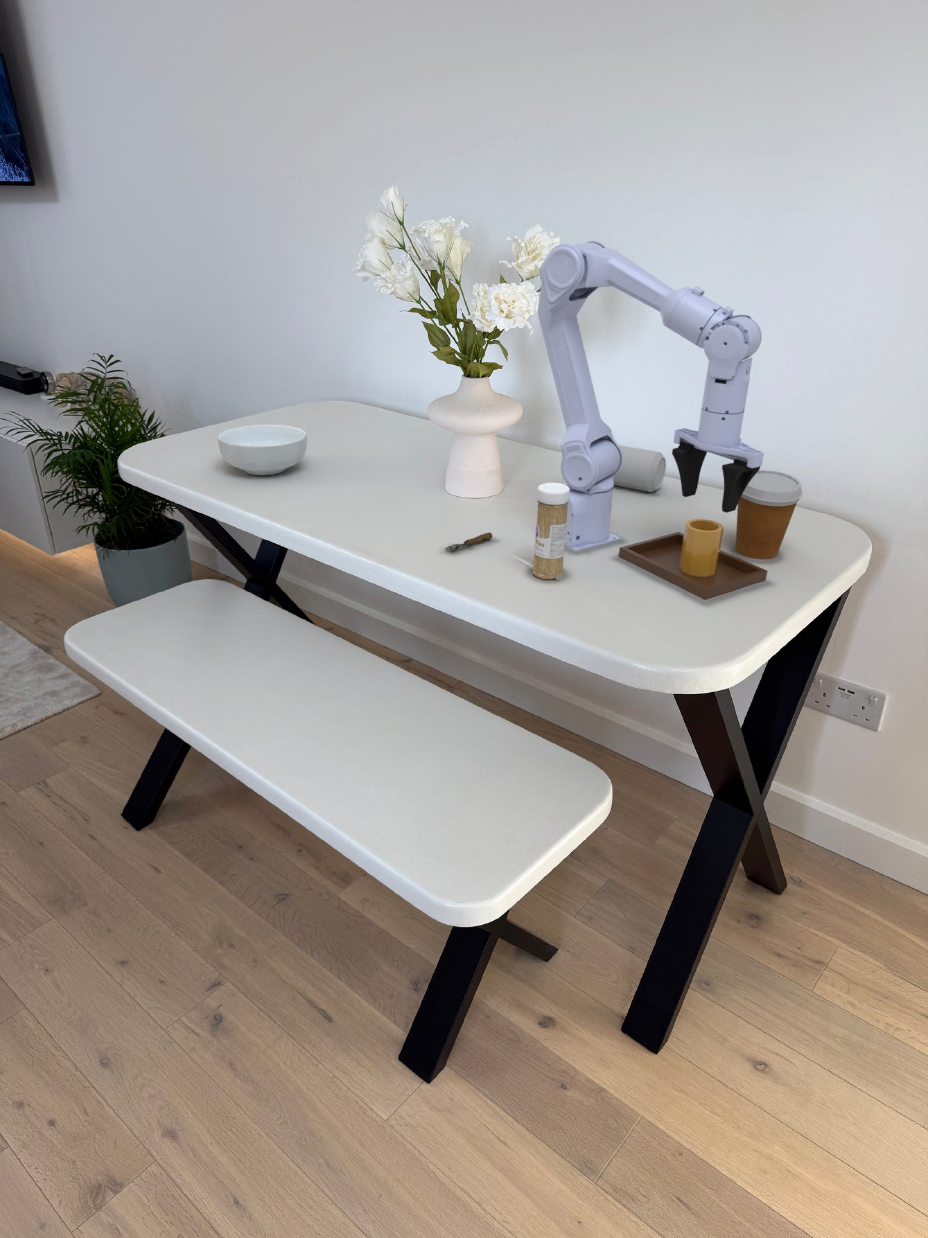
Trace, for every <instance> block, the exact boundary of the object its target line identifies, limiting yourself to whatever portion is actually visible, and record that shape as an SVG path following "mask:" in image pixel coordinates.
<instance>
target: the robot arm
mask: <svg viewBox="0 0 928 1238" xmlns="http://www.w3.org/2000/svg"><path fill="white" fill-rule="evenodd" d="M538 273H539V276H540V281H541V283H540V284H541V285H540V291H539V298H538V306H537V316H538V320H539V324H540V329H541V333H542V337H543V340H544V344H545V349H546V353H547V357H548V362H549V364H550V365H549V366H550V368H551V369H550V370H551V373H552V377H553V381H554V384H555V389H556V393H557V397H558V402H559V405H560V410H561V413H562V418H563V420H564V426H565V432H564V435H563V437H562V440H561V443H560V450H561V456H562V457H561V465H560V471H561V476H562V478H563V481H564V482H565V483H566V484H565V485H566V486H568V487H569V488H570V498H569V501H568V509H567V526H566V539H565V547H568V548H569V549H571V550H573V551H580V550H584V549H588V548H591V547H596V546H600V545H603V544H604V545H605V544H608V543H611V542H615V541H618V540H621V537H619V536H618V535H616V534H613V533H611V532H610V525H611V514H612V505H613V497H614V486H615V485H614V482H613V480H614V474H616V473H617V472H618V471H619V470H620V468H621V466H622V463H623V454H622V451H621V448H620V447H619V445H620V444H618V442H617V441H616V440H615V438H614V436H613V435H614V434H613V432H612V428H611V427H610V426H609V425H608V424H607V423H606V422H605V421H604V420H602V417H601V414H600V409H599V405H598V401H597V397H596V393H595V389H594V385H593V380H592V376H591V372H590V371H591V370H590V367H589V363H588V358H587V355H586V351H585V347H584V346H585V345H584V343H583V338H582V333H581V329H580V326H579V321H578V314H579V312H580V311H581V309H582V308H583V306H584V304H585V302H586V301H587V299H588V297H590V296H591V295H592V294H593V293H594V292H595V291H596V290H598V289H599V288H604V287H605V288H607V287H612V288H615V289H616V290H619V291H620V292H622V293H624V294H626V295H627V296H630V297H631V298H633V299H635V300H637V301H639V302H641V303H643V304H645V305H646V306H648V307H650V308H652V309H654V310H656V311H657V312H659V313H660V317H661V321H662V324H663V326H664V327H665V328H667V329H669V330H671V331H672V332H673V333H675V334H677V335H679V336H680V337H682V338H683V339H685V340H687V341H689V342H690V343H692V344H693V345H695V346H696V347H698V348H700V349H703V350H704V354H705V356H706V358H707V360H708V364H707V370H706V374H705V381H704V389H703V395H702V396H703V397H702V403H701V409H700V415H699V423H698V430H694V429H689V428H685V427H683V428H677V429H675V430H674V436H673V443H674V444H677V445H678V446H677V447H673V448H672V450H671V455H672V457H673V458H674V462H675V464H676V467H677V470H678V474H679V479H680V486H681V487H680V488H681V494H682V497H684V498H688V497H692V496H695V495H696V493H697V490H698V487H699V481H700V476H701V471H702V467H703V465H704V461H705V459H706V456H707V454H708V453H710V454H712V455H715V456H719V457H722V458H725V459H728V460H731V461H733V462H730V463H725V464H722V466H721V470H722V475H723V494H722V501H721V511H722V512H723V513H725V514H726V513H731V512H734V511H736V509H737V508H738V502H739V500H740V498H741V496H742V494H743V492H744V490H745V488H746V487H747V485H748V484H749V482H750V481H751V479H752V478H753V477H754V476H755V474H756V473H757V472H758V471H759V470H761V467H762V466H763V461H764V457H765V456H764V455H765V452H764V451H761V450H758V449H756V448H754V447H752V446H750V445H748V444H747V443H744V441H743V442H742V438H741V434H742V428H743V427H742V426H743V422H744V415H745V410H746V403H747V397H748V391H749V385H750V379H751V377H750V376H751V371H752V364H753V357H752V356H753V355H755V353H757V351H758V350H759V348H760V346H761V344H762V340H763V339H762V338H763V337H762V336H763V334H762V329H761V327H760V324H759V323H758V322H757V321H755V320H754V319H753V318H752V316H751V315H750V314H743V313H742V314H741V313H740V314H736V315H734V312H735V309H734V308H733V307H731V306H729V305H728V306H725V307H724V306H723V305H720V304H718V303H717V302H715V301H713V300H711V299H710V298H708V297H707V296H705V295H704V294H705V293H706V292H705V291H706V290H704V289H703V288H701V287H700V286H694V287H690V286H683V287H681V288H677V289H674V288H672V287H671V286H669V285H668V284H666V283H665V282H664V281H662V280H660V279H659V278H658V277H656V276H655V275H653V274H651V273H650V272H648V271H647V270H645V269H644V268H642V267H641V266H639V265H638V264H636V263H635V262H633V261H632V260H630V259H629V258H627V257H626V256H625V255H623V254H622V253H620V252H619V251H618V250H616V249H615V248H613V247H606V245H604V244H603V243H602V242H600V241H596V240H589V241H585V242H581V243H571V244H570V243H560V244H557V245H556V246H554V247H553V248H551V250H550V251H549V252H548V253H547V254H546V256H545V258H544V260H543V262H542V263H541V265H540V266H539V269H538Z"/></svg>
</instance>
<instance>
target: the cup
mask: <svg viewBox="0 0 928 1238" xmlns="http://www.w3.org/2000/svg"><path fill="white" fill-rule="evenodd" d="M723 533H724V525H722V524H721V523H720V522H718V521H715V520H711V519H707V518H706V519H705V518H694V519H691V520H687V521H686V522H685V525H684V532H683V534H684V538H683V545H682V552H681V559H680V565H679V568H680V570H681V571H682V572H684V573H686V574H688V575H692V576H697V577H708V576H711V575H714V574H715V572H716V570H717V564H718V558H719V552H720V550H721V546H722V540H723Z"/></svg>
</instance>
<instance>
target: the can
mask: <svg viewBox="0 0 928 1238" xmlns="http://www.w3.org/2000/svg"><path fill="white" fill-rule="evenodd" d="M618 445H619V447H620V448H621V451H622V454H623V463H622V466H621V468H620V470H619V471H618V472H617V473H616V474H614V480H613V482H614V486H615V487H621V488H627V489H631V490H636V491H642V492H648V493H653V492H655V491H656V490H658V489H659V488H660V487H661V485H662V483H663V481H664V478H665V474H666V468H667V461H666V458H665V456H664V455H663V453H662V452H661V451H656V450H650V449H644V448H639V447H632V446H627V445H620V444H618Z"/></svg>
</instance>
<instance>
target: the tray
mask: <svg viewBox="0 0 928 1238" xmlns="http://www.w3.org/2000/svg"><path fill="white" fill-rule="evenodd" d="M683 538H684V533H682V532H680V531H677V532H673V533H669V534H666V535H662V536H658V537H654V538H650V539H646V540H643V541H639V542H635V543H632V544H628V545H624V546H620V547H619V549H618V558H620V559H622V560H624V561H626V562H629V563H630V564H632V565H634V566H636V567H638V568H640V569H642V570H644V571H646V572H648V573H650V574H652V575H654V576H656V577H658V578H660V579H661V580H664V581H665V582H667V583H668V582H669V583H670V584H672V585H675V586H676V587H678V588H680V589H682V590H684V591H686V592H688V593H690V594H692V595H694V596H696V597H698V598H699V599H702V600H703V601H707V600H710V599H712V598H716V597H720V596H722V595H725V594H729V593H731V592H735V591H737V590H741V589H744V588H748V587H750V586H753V585H756V584H759V583H762V582H765V581H767V577H768V570H767V569H765V568H763V567H761V566H758V565H756V564H753V563H751V562H748V561H746V560H745V559H742V558H740V557H737V556H735V555H733V554H731V553H729V552H725V551H724V550H722V549H720V552H719V558H718V564H717V570H716V572H715V574H714V575H711V576H708V577H697V576H692V575H688V574H686V573H684V572H682V571H681V570H680V568H679V565H680V559H681V552H682V545H683Z"/></svg>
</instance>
